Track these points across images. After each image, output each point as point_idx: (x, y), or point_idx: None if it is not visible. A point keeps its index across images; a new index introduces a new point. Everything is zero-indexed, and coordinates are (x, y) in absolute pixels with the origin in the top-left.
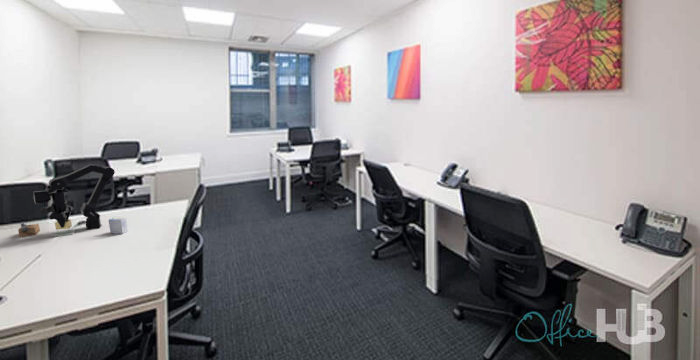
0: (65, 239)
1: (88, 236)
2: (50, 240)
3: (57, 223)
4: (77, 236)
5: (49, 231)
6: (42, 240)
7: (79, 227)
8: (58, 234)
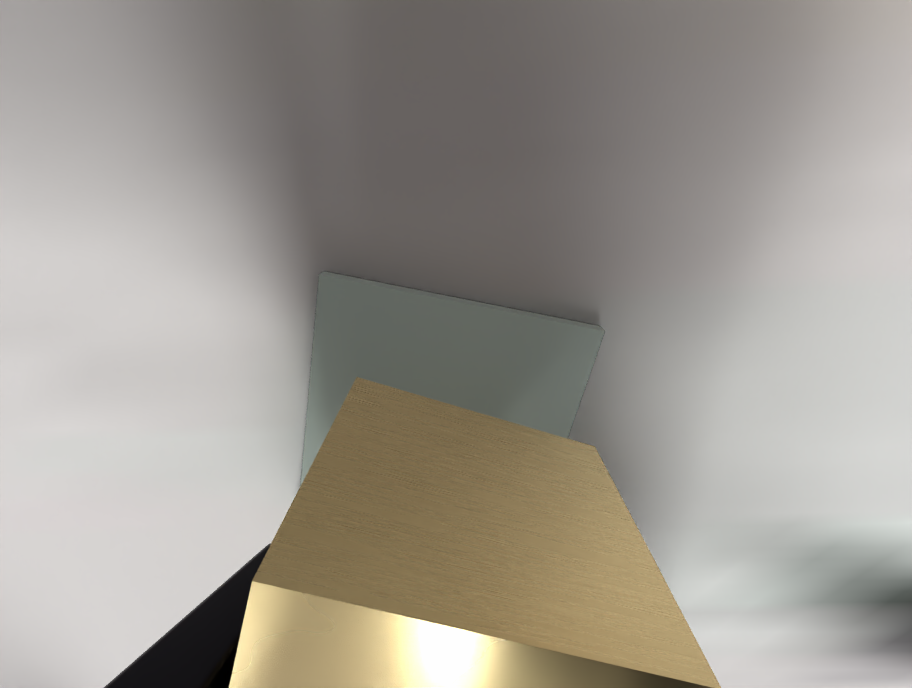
0: (45, 449)
1: (87, 679)
2: (76, 213)
3: (251, 632)
4: (151, 582)
5: (894, 140)
6: (149, 32)
7: (685, 598)
8: (406, 344)
